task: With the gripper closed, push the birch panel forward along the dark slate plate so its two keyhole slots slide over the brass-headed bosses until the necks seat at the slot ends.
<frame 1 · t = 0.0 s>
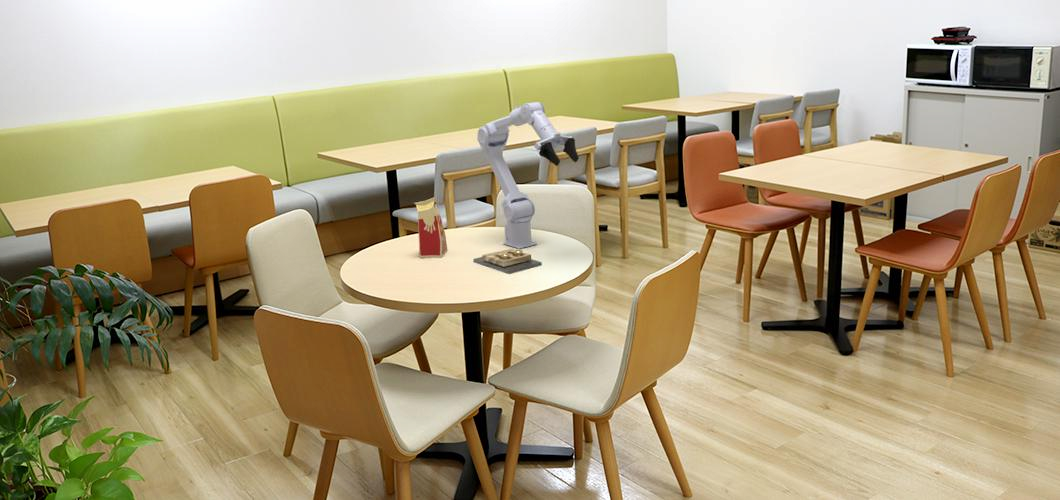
hand: (567, 161, 284), 32 cm above the table, tool tilted 50°, fingers open, 7 cm apart
panel: (506, 257, 293), point 2 cm above the table, slide at 0.0 cm
red snack bag: (432, 254, 310), on the table
keyhole plate: (507, 263, 293), on the table
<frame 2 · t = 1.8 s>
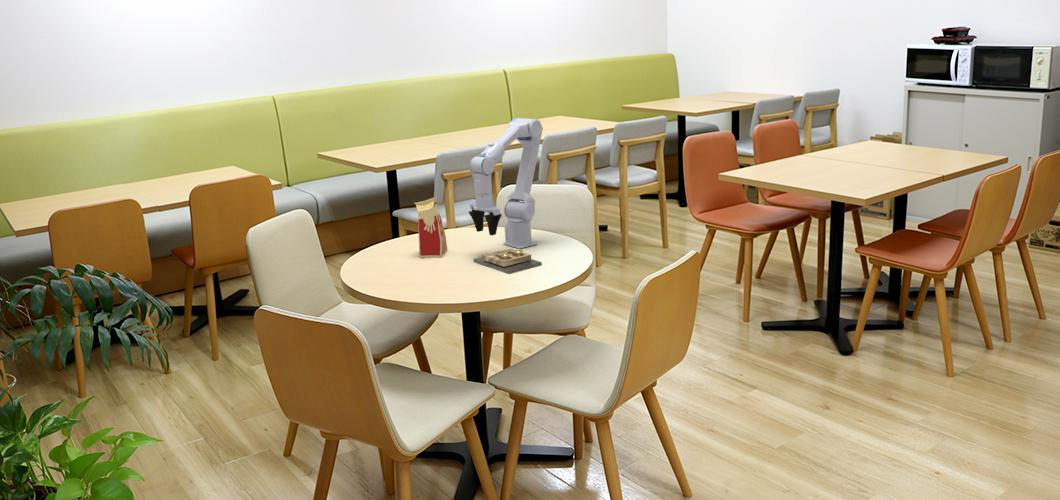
hand: (486, 232, 299), 8 cm above the table, tool pointing down, fingers open, 7 cm apart
nothing on the table moved.
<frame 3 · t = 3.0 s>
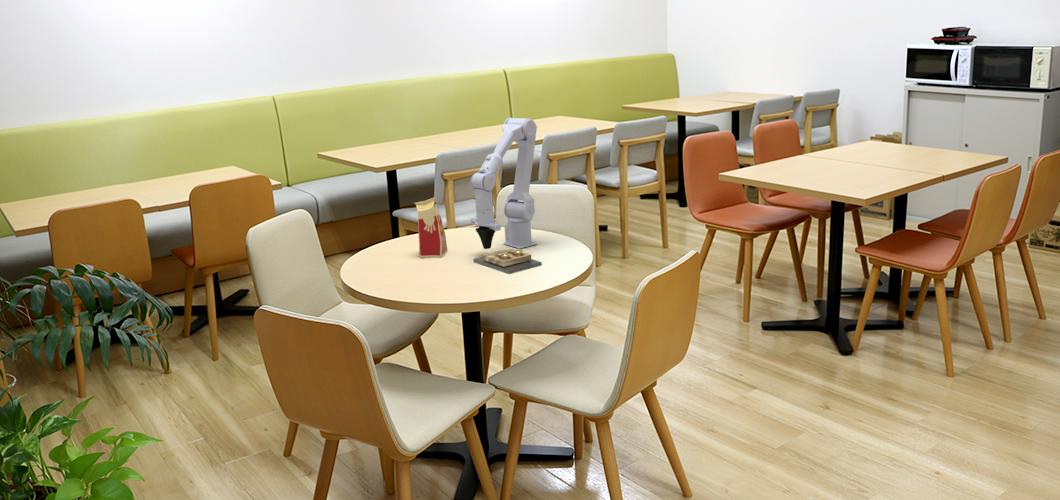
hand: (487, 248, 301), 3 cm above the table, tool pointing down, fingers closed
nothing on the table moved.
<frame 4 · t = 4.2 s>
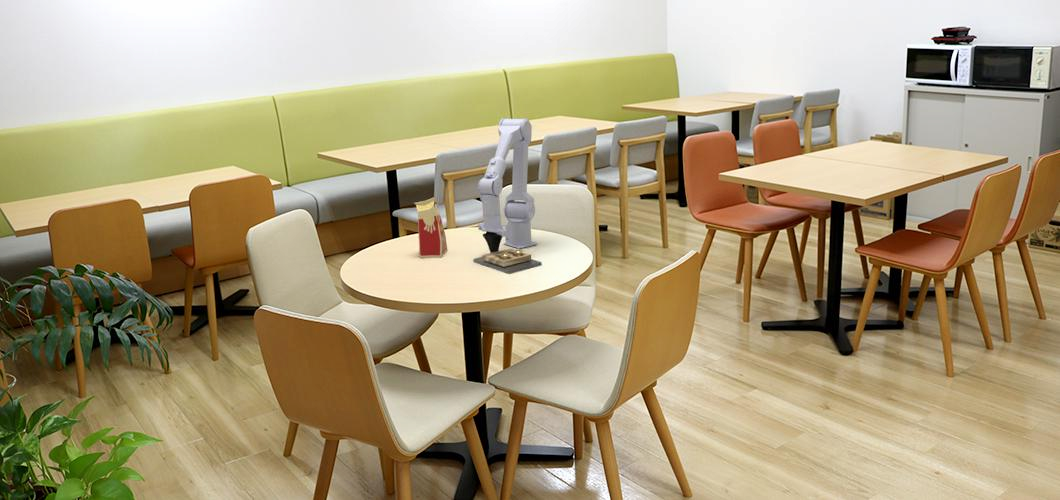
hand: (494, 253, 298), 2 cm above the table, tool pointing down, fingers closed
panel: (506, 257, 293), point 2 cm above the table, slide at 0.0 cm, touching gripper
everything else where it was.
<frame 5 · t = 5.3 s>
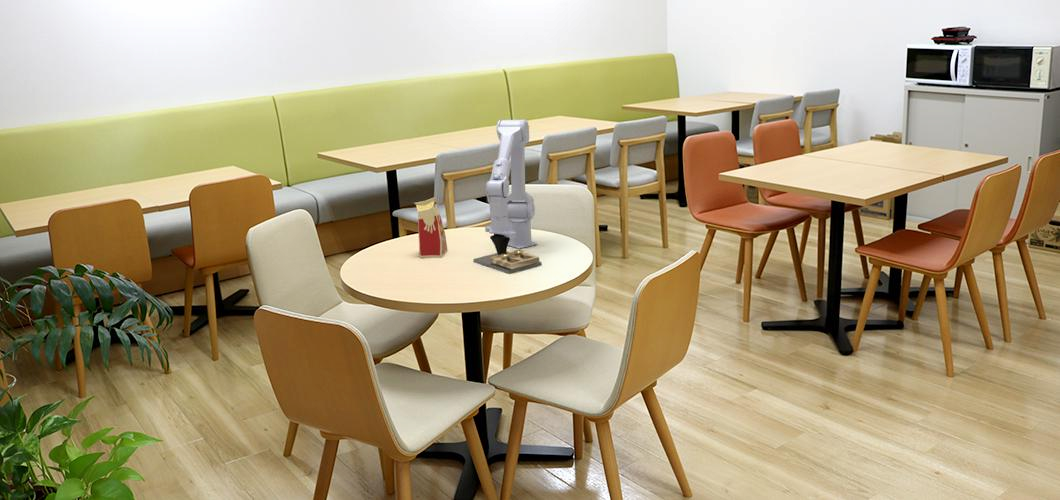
hand: (501, 256, 295), 2 cm above the table, tool pointing down, fingers closed
panel: (514, 259, 289), point 2 cm above the table, slide at 4.2 cm, touching gripper
everything else where it was.
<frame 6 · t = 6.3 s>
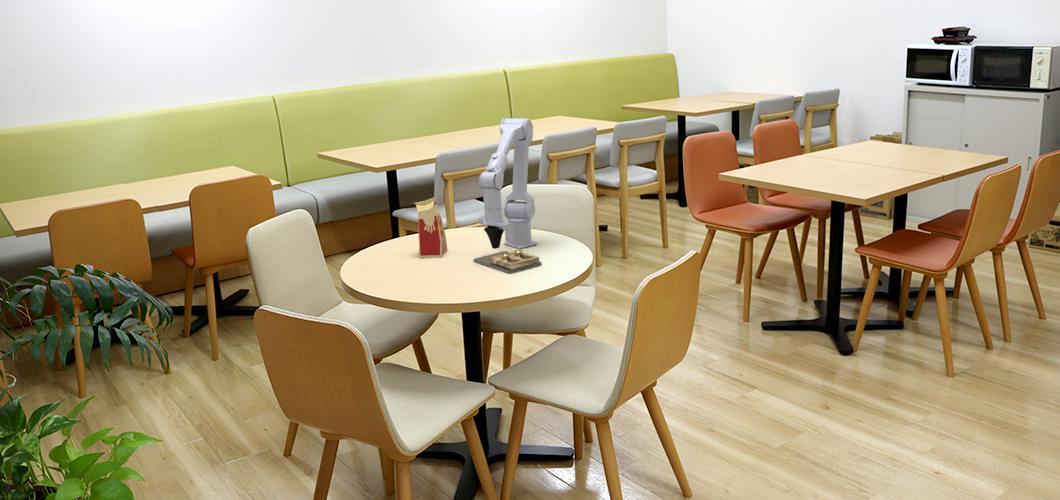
hand: (495, 247, 297), 4 cm above the table, tool pointing down, fingers closed
panel: (514, 259, 289), point 2 cm above the table, slide at 4.2 cm
everything else where it was.
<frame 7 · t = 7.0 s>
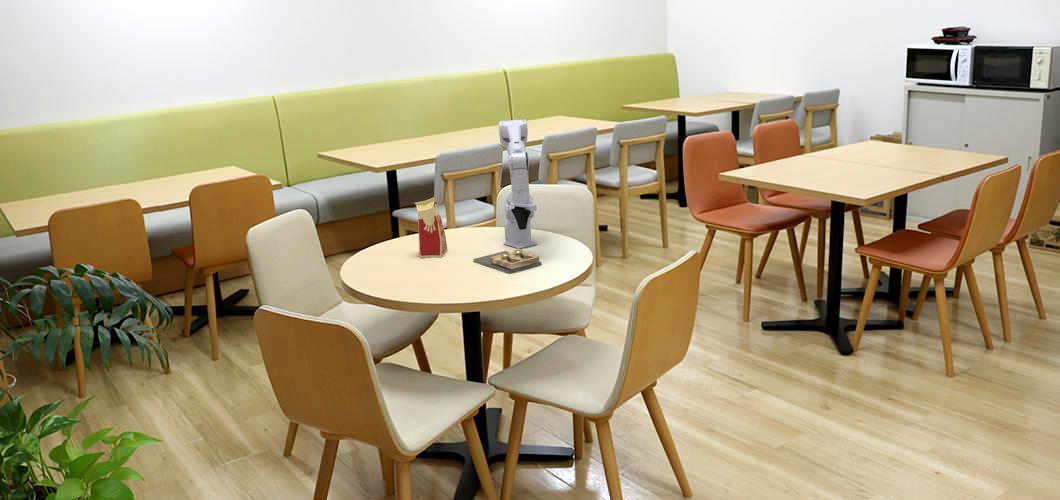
hand: (522, 229, 298), 9 cm above the table, tool pointing down, fingers closed
nothing on the table moved.
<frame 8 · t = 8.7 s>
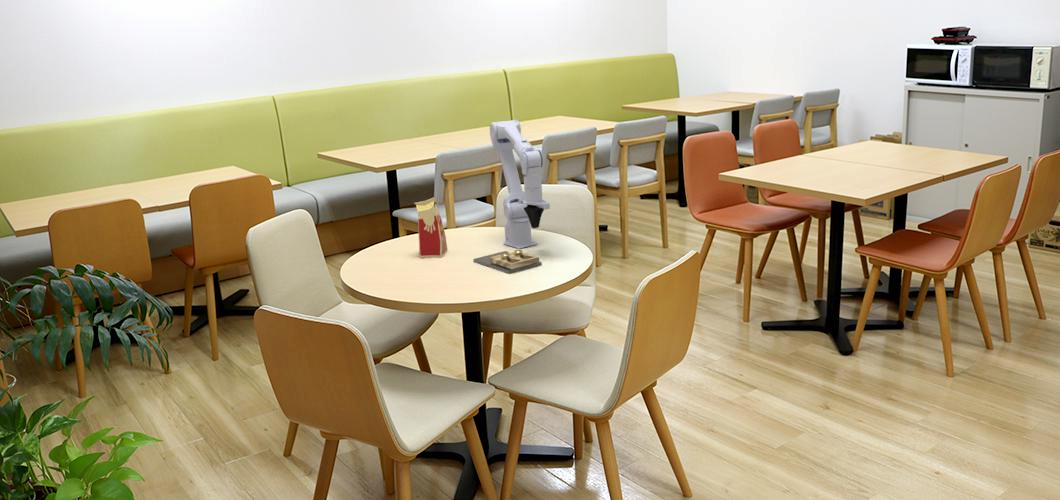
hand: (535, 227, 299), 9 cm above the table, tool pointing down, fingers closed
nothing on the table moved.
at the end: panel slide at 4.2 cm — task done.
